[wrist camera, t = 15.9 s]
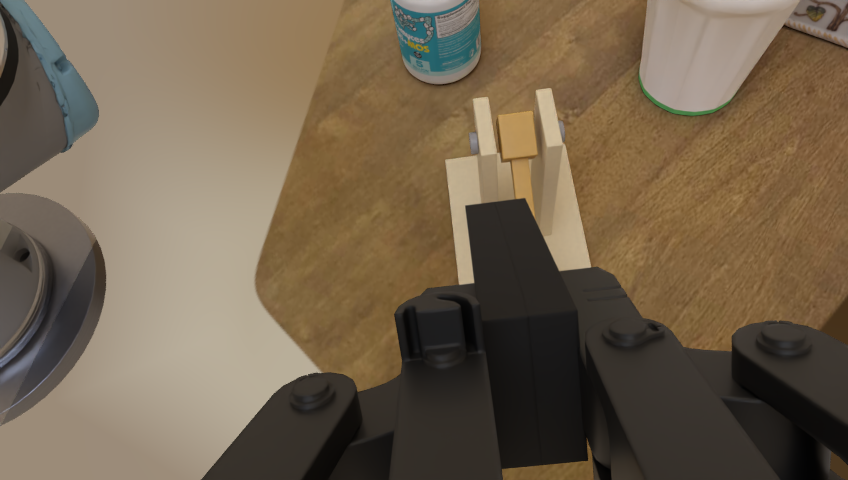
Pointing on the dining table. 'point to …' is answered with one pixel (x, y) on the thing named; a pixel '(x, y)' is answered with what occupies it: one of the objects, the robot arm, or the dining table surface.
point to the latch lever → (518, 150)
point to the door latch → (494, 183)
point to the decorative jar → (822, 19)
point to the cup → (705, 49)
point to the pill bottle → (438, 38)
